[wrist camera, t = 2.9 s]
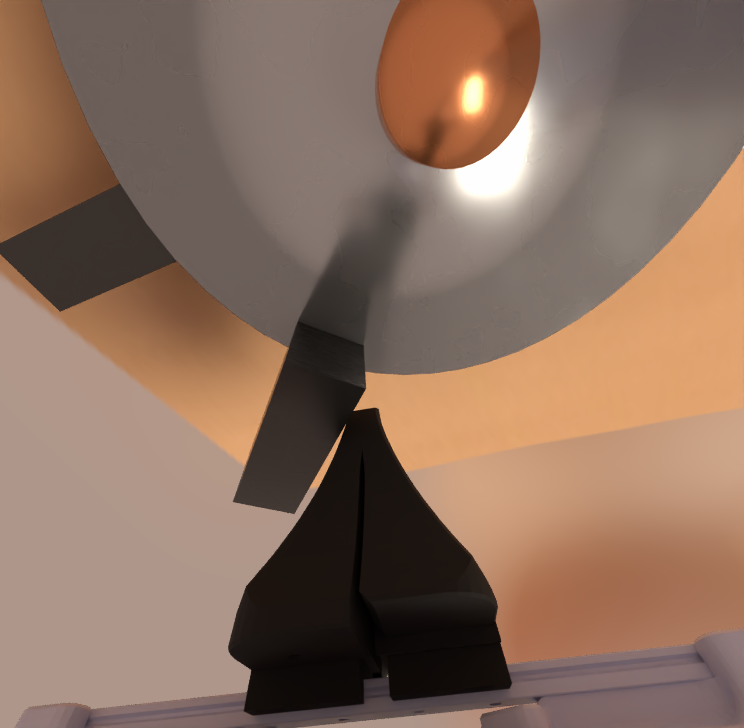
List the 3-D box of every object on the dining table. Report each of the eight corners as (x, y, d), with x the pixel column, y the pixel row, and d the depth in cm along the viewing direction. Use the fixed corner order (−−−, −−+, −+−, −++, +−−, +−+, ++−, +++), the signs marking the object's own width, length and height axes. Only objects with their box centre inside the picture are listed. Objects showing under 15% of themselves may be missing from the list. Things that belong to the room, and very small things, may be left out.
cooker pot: (654, -506, 7) (1142, -1561, 3) (606, 237, 15) (698, 269, 11) (-79, 5, 10) (-371, -90, 6) (221, 373, 19) (184, 436, 15)
